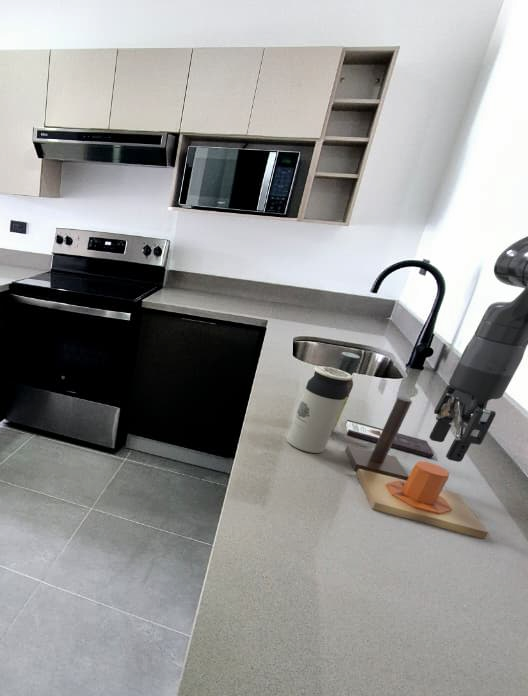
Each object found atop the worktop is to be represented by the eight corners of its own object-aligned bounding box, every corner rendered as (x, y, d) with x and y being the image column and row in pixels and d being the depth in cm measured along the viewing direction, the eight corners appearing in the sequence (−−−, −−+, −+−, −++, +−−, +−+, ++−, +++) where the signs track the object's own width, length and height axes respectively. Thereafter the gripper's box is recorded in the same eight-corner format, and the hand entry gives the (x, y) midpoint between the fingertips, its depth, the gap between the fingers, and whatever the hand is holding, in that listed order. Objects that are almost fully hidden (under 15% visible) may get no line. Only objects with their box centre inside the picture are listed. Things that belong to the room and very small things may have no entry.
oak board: (453, 499, 100) (457, 493, 99) (484, 539, 88) (488, 532, 87) (355, 474, 105) (358, 468, 104) (372, 509, 92) (375, 502, 92)
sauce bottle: (303, 421, 128) (331, 347, 120) (328, 426, 127) (359, 352, 119) (310, 432, 122) (340, 355, 114) (336, 437, 121) (369, 360, 113)
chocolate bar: (433, 454, 117) (348, 431, 123) (431, 458, 117) (347, 434, 124) (426, 440, 124) (347, 419, 131) (425, 444, 125) (345, 422, 131)
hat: (437, 492, 99) (453, 463, 96) (457, 519, 90) (475, 489, 87) (382, 478, 101) (395, 450, 98) (396, 503, 92) (411, 473, 90)
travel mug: (317, 441, 118) (346, 369, 110) (328, 457, 111) (360, 381, 103) (282, 434, 119) (308, 363, 111) (291, 449, 111) (320, 374, 104)
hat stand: (392, 462, 113) (424, 397, 106) (406, 483, 104) (441, 413, 97) (344, 450, 115) (372, 386, 108) (353, 470, 106) (384, 401, 100)
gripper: (535, 383, 77) (484, 473, 84) (493, 359, 90) (452, 439, 96) (479, 372, 79) (434, 461, 86) (445, 351, 92) (408, 429, 98)
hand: (443, 449), depth 91 cm, fingers open, 8 cm apart
